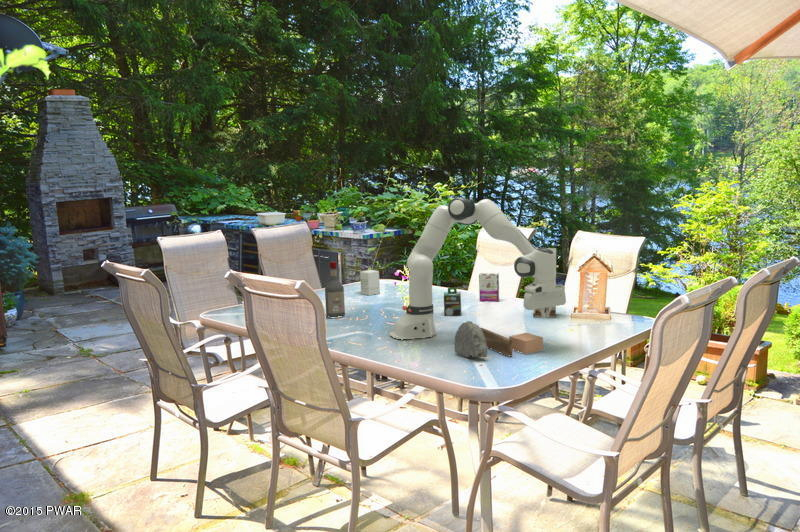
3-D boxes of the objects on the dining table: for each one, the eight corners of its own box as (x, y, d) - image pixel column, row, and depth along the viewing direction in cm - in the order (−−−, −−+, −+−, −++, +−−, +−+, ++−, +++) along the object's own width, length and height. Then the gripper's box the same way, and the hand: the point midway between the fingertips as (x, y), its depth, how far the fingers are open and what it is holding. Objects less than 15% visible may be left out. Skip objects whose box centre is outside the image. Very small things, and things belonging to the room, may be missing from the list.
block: (525, 355, 263) (525, 341, 262) (509, 349, 272) (509, 336, 271) (542, 350, 269) (542, 337, 268) (526, 345, 277) (526, 332, 276)
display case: (533, 317, 327) (533, 251, 322) (533, 313, 337) (533, 248, 332) (555, 318, 324) (556, 251, 319) (555, 313, 334) (556, 248, 329)
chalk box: (461, 312, 345) (460, 285, 342) (461, 315, 336) (460, 288, 333) (444, 312, 346) (443, 285, 343) (443, 316, 337) (443, 288, 334)
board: (507, 356, 261) (507, 340, 260) (477, 343, 282) (477, 328, 281) (511, 356, 262) (511, 339, 261) (481, 342, 283) (481, 327, 282)
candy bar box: (499, 300, 372) (499, 273, 369) (498, 302, 367) (498, 274, 365) (480, 299, 375) (480, 272, 373) (479, 301, 370) (478, 274, 368)
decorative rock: (452, 353, 268) (452, 319, 266) (465, 350, 271) (464, 317, 269) (477, 362, 254) (476, 326, 252) (489, 359, 258) (489, 324, 255)
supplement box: (371, 292, 409) (370, 269, 407) (380, 293, 402) (379, 270, 400) (360, 294, 404) (359, 271, 401) (368, 296, 397) (368, 272, 394)
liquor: (346, 317, 341) (343, 262, 336) (329, 319, 338) (327, 264, 333) (341, 313, 349) (338, 260, 345) (325, 315, 346) (322, 261, 341)
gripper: (559, 282, 278) (559, 312, 280) (521, 287, 269) (521, 319, 272) (569, 284, 272) (569, 315, 274) (530, 289, 264) (530, 321, 266)
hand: (545, 317), depth 273 cm, fingers closed
